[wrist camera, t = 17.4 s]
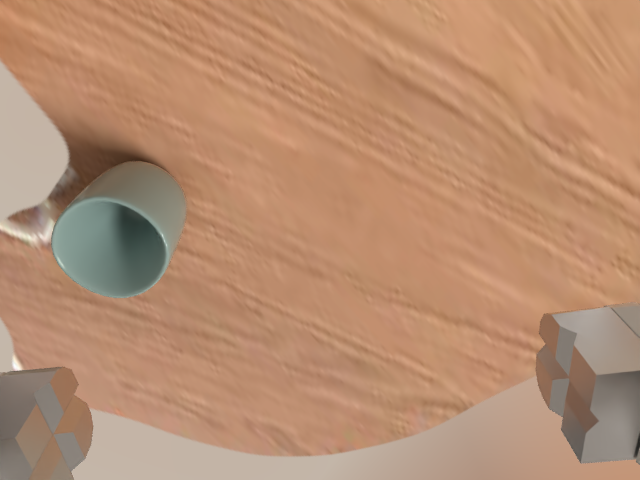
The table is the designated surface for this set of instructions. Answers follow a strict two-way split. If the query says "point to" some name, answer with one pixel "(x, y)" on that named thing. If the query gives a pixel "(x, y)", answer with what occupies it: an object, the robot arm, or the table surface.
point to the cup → (121, 230)
